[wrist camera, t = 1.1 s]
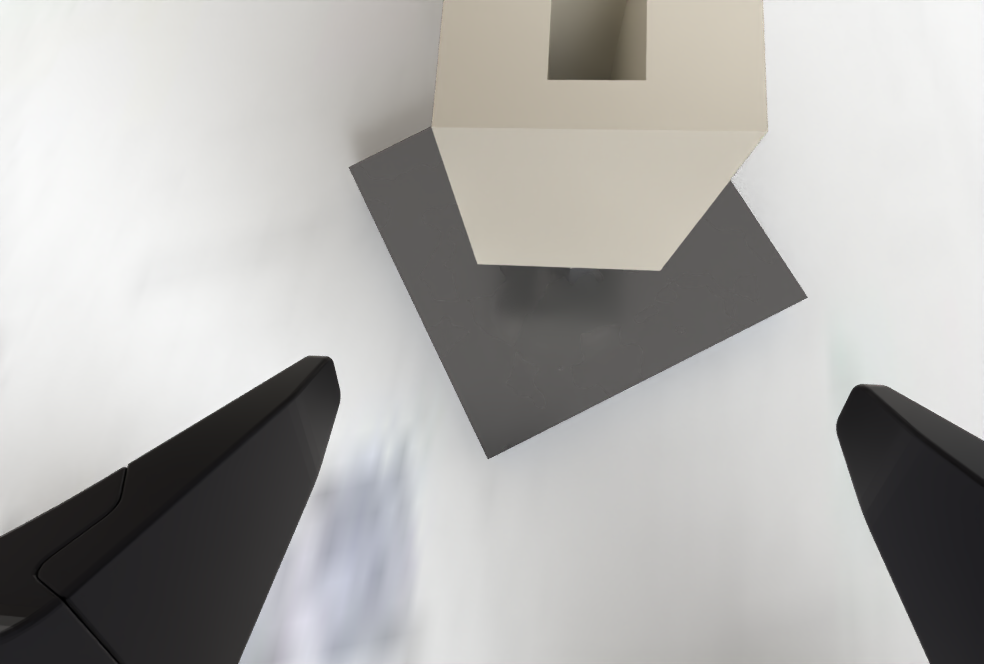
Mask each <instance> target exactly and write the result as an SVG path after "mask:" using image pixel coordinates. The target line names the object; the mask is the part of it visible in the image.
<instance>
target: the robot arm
mask: <svg viewBox="0 0 984 664" xmlns="http://www.w3.org/2000/svg"><path fill="white" fill-rule="evenodd" d="M339 404H340V388H339V384H338V379H337V375H336V371H335V366H334V363H333V361H332V359H331V358H330V357H328V356H307V357H305V358H303V359H302V360H300V361H298V362H297V363H295V364H293V365H292V366H290V367H288V368H287V369H285V370H283V371H282V372H280V373H278V374H277V375H275V376H273V377H272V378H270V379H268V380H267V381H265V382H263V383H262V384H260V385H258V386H257V387H255V388H254V389H252V390H250V391H249V392H247V393H245V394H244V395H242V396H240V397H239V398H237V399H235V400H234V401H232V402H230V403H229V404H227V405H225V406H224V407H222V408H220V409H219V410H217V411H215V412H214V413H212V414H210V415H209V416H207V417H205V418H204V419H202V420H200V421H199V422H197V423H195V424H194V425H192V426H191V427H189V428H187V429H186V430H184V431H182V432H181V433H179V434H177V435H176V436H174V437H172V438H171V439H169V440H167V441H166V442H164V443H162V444H161V445H159V446H157V447H156V448H154V449H152V450H151V451H149V452H147V453H146V454H144V455H142V456H141V457H139V458H137V459H136V460H134V461H132V462H131V463H129V464H128V466H127V467H122V468H121V469H119V470H117V471H116V472H114V473H112V474H111V475H109V476H107V477H106V478H104V479H103V480H101V481H99V482H97V483H96V484H94V485H92V486H91V487H89V488H87V489H85V490H84V491H82V492H80V493H79V494H77V495H75V496H73V497H72V498H70V499H68V500H67V501H65V502H63V503H61V504H60V505H58V506H56V507H54V508H52V509H50V510H49V511H47V512H45V513H43V514H41V515H39V516H37V517H36V518H34V519H32V520H30V521H28V522H26V523H25V524H23V525H21V526H19V527H17V528H15V529H13V530H12V531H10V532H8V533H6V534H4V535H2V536H0V664H238V663H239V661H240V658H241V656H242V654H243V651H244V649H245V647H246V644H247V642H248V640H249V637H250V635H251V633H252V630H253V628H254V626H255V623H256V621H257V619H258V616H259V614H260V612H261V609H262V607H263V604H264V602H265V600H266V597H267V595H268V593H269V590H270V588H271V586H272V583H273V581H274V579H275V576H276V574H277V572H278V569H279V567H280V565H281V562H282V560H283V558H284V555H285V553H286V551H287V548H288V546H289V543H290V541H291V539H292V536H293V534H294V532H295V529H296V527H297V525H298V522H299V520H300V518H301V515H302V513H303V511H304V508H305V506H306V504H307V501H308V499H309V497H310V494H311V492H312V490H313V487H314V485H315V482H316V480H317V477H318V474H319V471H320V468H321V465H322V462H323V458H324V455H325V452H326V448H327V445H328V441H329V438H330V435H331V431H332V428H333V424H334V421H335V418H336V414H337V411H338V407H339ZM836 431H837V436H838V439H839V442H840V445H841V448H842V452H843V455H844V458H845V461H846V464H847V467H848V470H849V473H850V477H851V480H852V483H853V486H854V489H855V492H856V495H857V498H858V501H859V504H860V507H861V510H862V513H863V515H864V518H865V520H866V523H867V525H868V527H869V530H870V532H871V534H872V536H873V539H874V541H875V543H876V545H877V548H878V550H879V552H880V554H881V556H882V559H883V561H884V563H885V565H886V567H887V570H888V572H889V574H890V576H891V579H892V581H893V583H894V585H895V587H896V590H897V592H898V594H899V596H900V599H901V601H902V603H903V605H904V607H905V610H906V612H907V614H908V616H909V618H910V621H911V623H912V625H913V627H914V630H915V632H916V634H917V636H918V638H919V641H920V643H921V645H922V647H923V650H924V652H925V654H926V656H927V658H928V661H929V663H930V664H984V441H983V440H981V439H980V438H978V437H976V436H974V435H973V434H971V433H969V432H967V431H965V430H964V429H962V428H960V427H958V426H957V425H955V424H953V423H951V422H950V421H948V420H946V419H944V418H942V417H941V416H939V415H937V414H935V413H934V412H932V411H930V410H928V409H927V408H925V407H923V406H921V405H919V404H918V403H916V402H914V401H912V400H911V399H909V398H907V397H905V396H904V395H902V394H900V393H898V392H897V391H895V390H893V389H891V388H889V387H887V386H884V385H871V384H860V385H857V386H855V387H854V388H853V389H852V391H851V393H850V395H849V397H848V399H847V401H846V403H845V405H844V407H843V409H842V411H841V413H840V415H839V417H838V420H837V424H836Z"/></svg>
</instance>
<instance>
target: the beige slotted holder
mask: <svg viewBox="0 0 984 664" xmlns="http://www.w3.org/2000/svg"><path fill="white" fill-rule="evenodd" d="M431 128H432V131H433V134H434V137H435V139H436V142H437V145H438V148H439V151H440V154H441V157H442V160H443V163H444V166H445V169H446V172H447V175H448V178H449V181H450V184H451V187H452V190H453V193H454V196H455V199H456V202H457V205H458V208H459V211H460V214H461V217H462V220H463V223H464V226H465V229H466V232H467V235H468V237H469V240H470V243H471V246H472V249H473V252H474V255H475V258H476V261H477V264H488V265H515V266H543V267H570V268H597V269H625V270H652V271H660V270H661V269H662V268H663V266H664V265H665V264H666V263H667V261H668V260H669V259H670V257H671V256H672V255H673V254H674V252H675V251H676V250H677V248H678V247H679V246H680V244H681V243H682V242H683V241H684V239H685V238H686V237H687V235H688V234H689V233H690V232H691V230H692V229H693V228H694V226H695V225H696V224H697V223H698V221H699V220H700V219H701V217H702V216H703V215H704V213H705V212H706V211H707V210H708V208H709V207H710V206H711V204H712V203H713V202H714V201H715V199H716V198H717V197H718V195H719V194H720V193H721V191H722V190H723V189H724V188H725V186H726V185H727V184H728V182H729V181H730V180H731V179H732V177H733V176H734V175H735V173H736V172H737V171H738V170H739V168H740V167H741V166H742V164H743V163H744V162H745V160H746V159H747V158H748V157H749V155H750V154H751V153H752V151H753V150H754V149H755V148H756V146H757V145H758V144H759V142H760V141H761V140H762V139H763V137H764V136H765V135H766V133H767V132H768V121H767V95H766V68H765V42H764V15H763V0H443V10H442V21H441V31H440V42H439V52H438V63H437V73H436V84H435V95H434V105H433V116H432V126H431Z"/></svg>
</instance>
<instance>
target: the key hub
mask: <svg viewBox="0 0 984 664" xmlns="http://www.w3.org/2000/svg"><path fill="white" fill-rule="evenodd" d="M349 169H350V171H351V173H352V175H353V177H354V179H355V181H356V183H357V186H358V188H359V190H360V192H361V194H362V196H363V198H364V200H365V202H366V204H367V207H368V209H369V211H370V213H371V215H372V217H373V219H374V221H375V223H376V225H377V228H378V230H379V232H380V234H381V236H382V238H383V240H384V242H385V244H386V246H387V248H388V251H389V253H390V255H391V257H392V259H393V261H394V263H395V265H396V267H397V269H398V272H399V274H400V276H401V278H402V280H403V282H404V284H405V286H406V288H407V290H408V293H409V295H410V297H411V299H412V301H413V303H414V305H415V307H416V309H417V311H418V314H419V316H420V318H421V320H422V322H423V324H424V326H425V328H426V330H427V332H428V335H429V337H430V339H431V341H432V343H433V345H434V347H435V349H436V351H437V353H438V355H439V358H440V360H441V362H442V364H443V366H444V368H445V370H446V372H447V374H448V376H449V379H450V381H451V383H452V385H453V387H454V389H455V391H456V393H457V395H458V397H459V400H460V402H461V404H462V406H463V408H464V410H465V412H466V414H467V416H468V418H469V421H470V423H471V425H472V427H473V429H474V431H475V433H476V435H477V437H478V439H479V442H480V444H481V446H482V448H483V450H484V452H485V454H486V456H487V458H488V459H490V458H492V457H494V456H496V455H498V454H500V453H501V452H503V451H505V450H507V449H509V448H511V447H513V446H515V445H517V444H519V443H521V442H523V441H525V440H527V439H529V438H531V437H533V436H535V435H537V434H539V433H541V432H543V431H545V430H547V429H549V428H551V427H553V426H555V425H557V424H559V423H561V422H563V421H565V420H567V419H569V418H571V417H573V416H575V415H577V414H579V413H581V412H583V411H584V410H586V409H588V408H590V407H592V406H594V405H596V404H598V403H600V402H602V401H604V400H606V399H608V398H610V397H612V396H614V395H616V394H618V393H620V392H622V391H624V390H626V389H628V388H630V387H632V386H634V385H636V384H638V383H640V382H642V381H644V380H646V379H648V378H650V377H652V376H654V375H656V374H658V373H660V372H662V371H664V370H666V369H667V368H669V367H671V366H673V365H675V364H677V363H679V362H681V361H683V360H685V359H687V358H689V357H691V356H693V355H695V354H697V353H699V352H701V351H703V350H705V349H707V348H709V347H711V346H713V345H715V344H717V343H719V342H721V341H723V340H725V339H727V338H729V337H731V336H733V335H735V334H737V333H739V332H741V331H743V330H745V329H747V328H749V327H750V326H752V325H754V324H756V323H758V322H760V321H762V320H764V319H766V318H768V317H770V316H772V315H774V314H776V313H778V312H780V311H782V310H784V309H786V308H788V307H790V306H792V305H794V304H796V303H798V302H800V301H802V300H804V299H806V298H808V297H807V296H806V294H805V293H804V291H803V290H802V288H801V287H800V285H799V284H798V282H797V281H796V279H795V278H794V276H793V274H792V273H791V271H790V270H789V268H788V267H787V265H786V264H785V262H784V261H783V259H782V258H781V256H780V255H779V253H778V252H777V250H776V249H775V247H774V246H773V244H772V243H771V241H770V240H769V238H768V237H767V235H766V234H765V232H764V230H763V229H762V227H761V226H760V224H759V223H758V221H757V220H756V218H755V217H754V215H753V214H752V212H751V211H750V209H749V208H748V206H747V205H746V203H745V202H744V200H743V199H742V197H741V196H740V194H739V193H738V191H737V190H736V188H735V187H734V185H733V183H732V182H731V180H730V181H729V182H728V184H727V185H726V186H725V188H724V189H723V190H722V191H721V193H720V194H719V195H718V197H717V198H716V199H715V201H714V202H713V203H712V204H711V206H710V207H709V208H708V210H707V211H706V212H705V213H704V215H703V216H702V217H701V219H700V220H699V221H698V223H697V224H696V225H695V226H694V228H693V229H692V230H691V232H690V233H689V234H688V235H687V237H686V238H685V239H684V241H683V242H682V243H681V244H680V246H679V247H678V248H677V250H676V251H675V252H674V254H673V255H672V256H671V257H670V259H669V260H668V261H667V263H666V264H665V265H664V266H663V268H662V269H661V270H660V271H652V270H625V269H597V268H570V267H543V266H515V265H488V264H477V261H476V258H475V255H474V252H473V249H472V246H471V243H470V240H469V237H468V235H467V232H466V229H465V226H464V223H463V220H462V217H461V214H460V211H459V208H458V205H457V202H456V199H455V196H454V193H453V190H452V187H451V184H450V181H449V178H448V175H447V172H446V169H445V166H444V163H443V160H442V157H441V154H440V151H439V148H438V145H437V142H436V139H435V137H434V134H433V131H432V128H431V127H429V128H427V129H425V130H423V131H421V132H419V133H417V134H415V135H413V136H411V137H409V138H407V139H405V140H403V141H401V142H399V143H397V144H395V145H393V146H391V147H389V148H387V149H385V150H383V151H381V152H379V153H377V154H375V155H373V156H371V157H369V158H367V159H365V160H363V161H361V162H359V163H357V164H355V165H353V166H351V167H349Z"/></svg>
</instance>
